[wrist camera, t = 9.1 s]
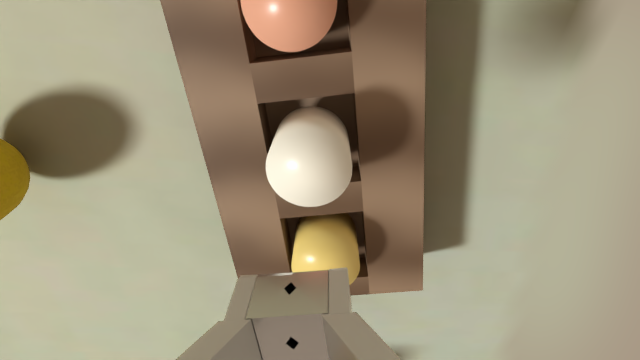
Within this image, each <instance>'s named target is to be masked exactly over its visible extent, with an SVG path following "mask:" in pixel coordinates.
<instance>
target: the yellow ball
mask: <svg viewBox="0 0 640 360" xmlns="http://www.w3.org/2000/svg"><path fill="white" fill-rule="evenodd" d="M345 267H347V269H348V276H349V285H351V284H352V283H353V282H354V281H355V279H356V278H357V276H358V274H359V271H360V260H359V251H358V243H357V234H356V227H355V224H354V221H353V220H352V218H351V217H350V216H349V215H348V214H347V213H338V214H327V215H315V216H304V217H301V218H300V220H299V221H298V224H297V227H296V234H295V241H294V248H293V255H292V263H291V268H292V272H293V273H294V272H306V271H318V270H329V269H335V268H345Z"/></svg>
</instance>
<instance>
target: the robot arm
mask: <svg viewBox="0 0 640 360" xmlns="http://www.w3.org/2000/svg"><path fill="white" fill-rule="evenodd" d="M176 360H401V359H400V358H399V357H398V356H397V355H396V354H395V352H394V351H393V350H392V349H391V348H390V347H389V346H388V345H387V344H386V343H385V342H384V341H383V340H382V339H381V338H380V337H379V336H378V335H377V333H376V332H375V331H374V330H373V329H372V328H371V327H370V326H369V325H368V324H367V323H366V322H365V321H364V320H363V319H362V318H361V317H360V316H359V315H358V313H357V312H352V305H351V295H350V286H349V276H348V269H347V267H345V268H335V269H329V270H318V271H306V272H294V273H293V272H292V273H273V274H258V275H242V276H240V277H239V278H238V279H237V282H236V285H235V288H234V291H233V294H232V297H231V300H230V304H229V307H228V310H227V313H226V316H225V319H224V321H218V322H217V323H216V324H215V325H214V326H213V327H212V328H210V329H209V330H208V331H207V332H206V333H205V334H204V335H203V336H202V337H200V338H199V339H198V340H197V341H196V342H195V343H194V344H193V345H191V346H190V347H189V348H188V349H187V350H186V351H185V352H184V353H183V354H181V355H180V356H179V357H178V358H177V359H176Z"/></svg>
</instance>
